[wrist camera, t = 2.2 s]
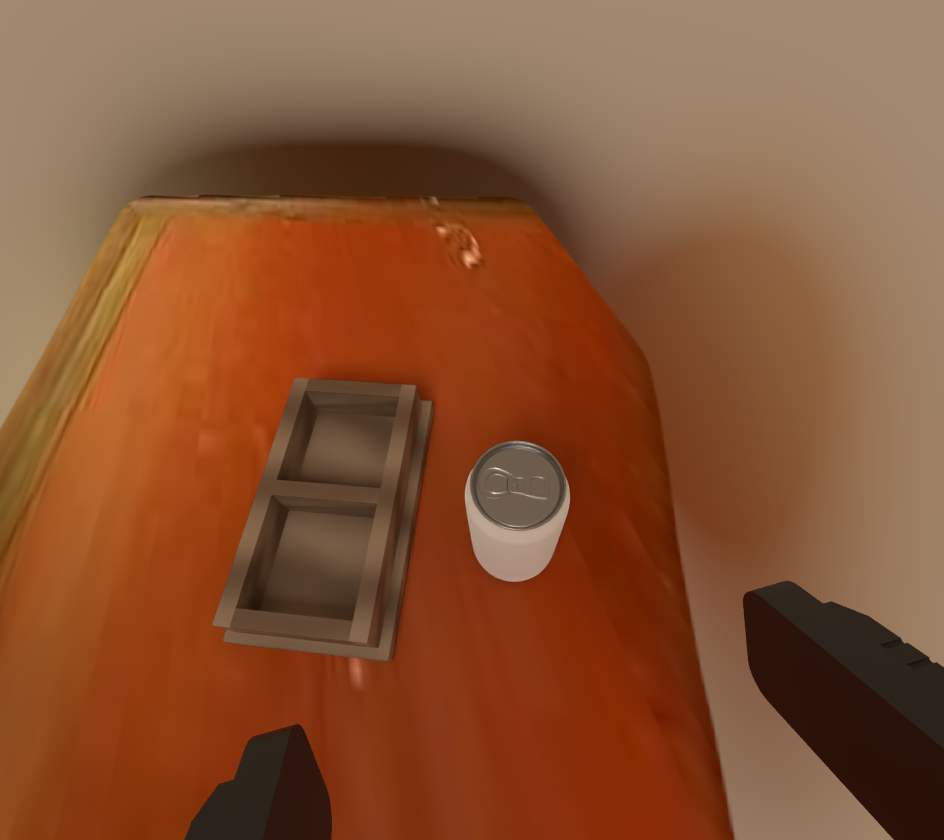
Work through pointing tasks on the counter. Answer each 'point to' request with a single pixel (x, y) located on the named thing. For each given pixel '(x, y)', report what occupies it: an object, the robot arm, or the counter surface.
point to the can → (516, 509)
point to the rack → (331, 523)
